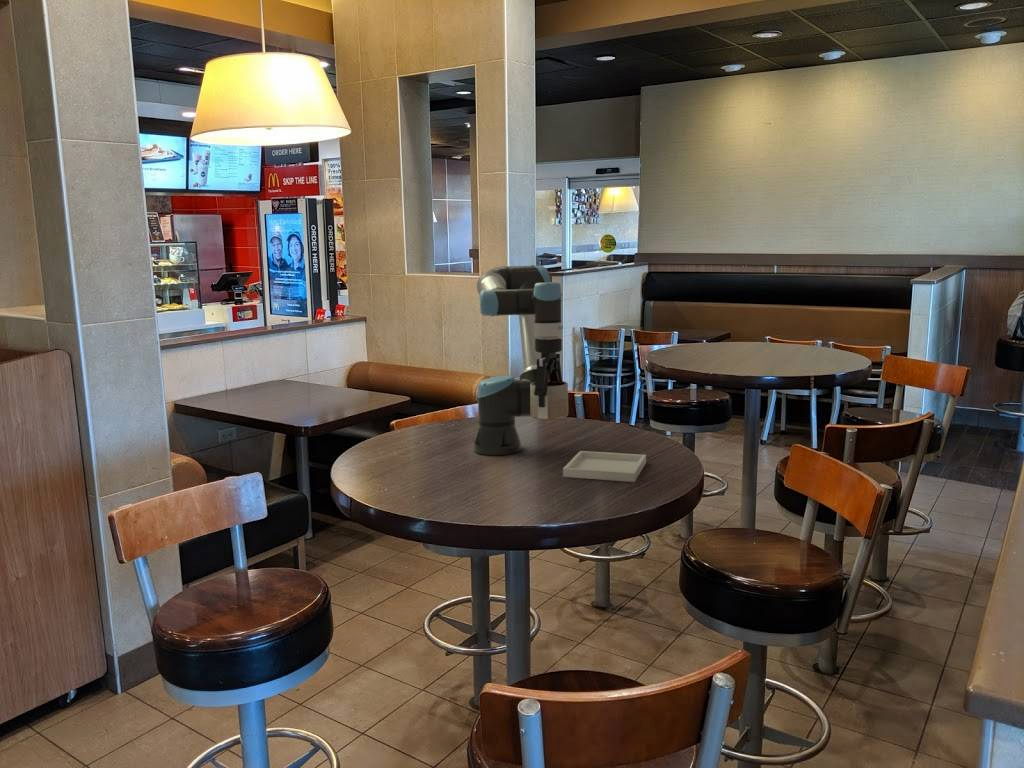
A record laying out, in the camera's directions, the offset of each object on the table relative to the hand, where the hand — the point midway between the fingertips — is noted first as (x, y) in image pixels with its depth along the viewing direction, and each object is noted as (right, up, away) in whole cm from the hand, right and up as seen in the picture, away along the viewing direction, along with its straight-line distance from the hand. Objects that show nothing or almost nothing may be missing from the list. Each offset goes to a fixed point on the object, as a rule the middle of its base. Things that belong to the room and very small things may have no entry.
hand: (549, 414), depth 224 cm
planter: (0, -1, 0) cm, 1 cm away
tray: (+16, -16, +2) cm, 23 cm away
